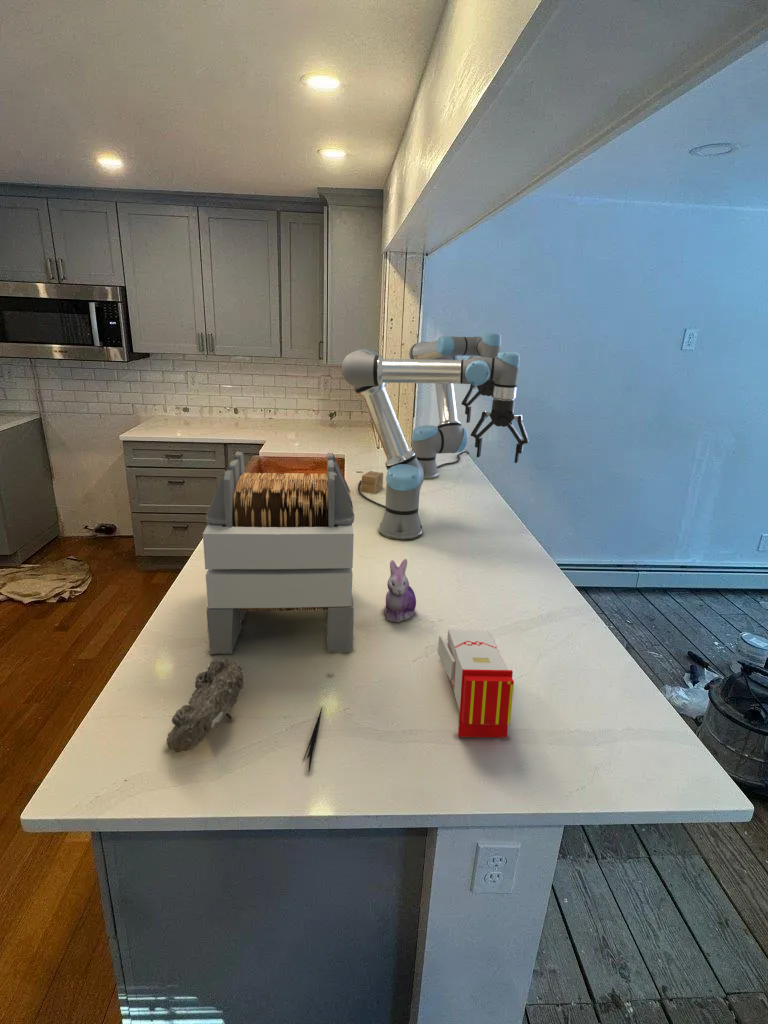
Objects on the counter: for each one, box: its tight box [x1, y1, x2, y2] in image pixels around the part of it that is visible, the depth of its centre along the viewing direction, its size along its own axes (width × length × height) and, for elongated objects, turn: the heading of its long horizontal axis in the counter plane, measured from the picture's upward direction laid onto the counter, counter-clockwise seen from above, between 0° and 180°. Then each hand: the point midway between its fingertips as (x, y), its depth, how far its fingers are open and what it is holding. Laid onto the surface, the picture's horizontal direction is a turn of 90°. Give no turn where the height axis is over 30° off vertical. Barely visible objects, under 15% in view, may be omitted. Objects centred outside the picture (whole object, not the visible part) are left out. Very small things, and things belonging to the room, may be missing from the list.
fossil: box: [166, 658, 245, 754], centre depth 106 cm, size 22×10×15 cm
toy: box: [437, 628, 515, 738], centre depth 117 cm, size 12×13×30 cm
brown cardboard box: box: [360, 470, 384, 495], centre depth 245 cm, size 9×6×7 cm
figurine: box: [384, 558, 417, 623], centre depth 145 cm, size 9×10×15 cm
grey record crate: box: [202, 451, 355, 655], centre depth 137 cm, size 34×33×41 cm
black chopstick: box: [301, 673, 332, 771], centre depth 108 cm, size 2×28×2 cm
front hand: (497, 459), depth 201 cm, fingers open, 13 cm apart
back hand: (483, 424), depth 239 cm, fingers open, 13 cm apart
